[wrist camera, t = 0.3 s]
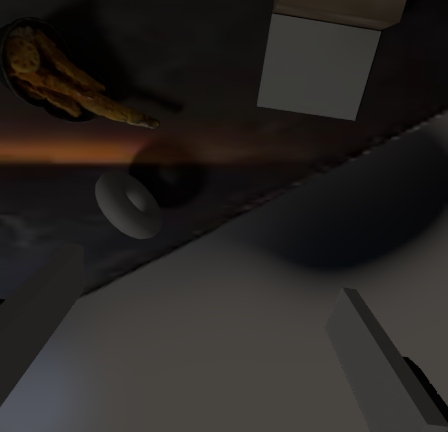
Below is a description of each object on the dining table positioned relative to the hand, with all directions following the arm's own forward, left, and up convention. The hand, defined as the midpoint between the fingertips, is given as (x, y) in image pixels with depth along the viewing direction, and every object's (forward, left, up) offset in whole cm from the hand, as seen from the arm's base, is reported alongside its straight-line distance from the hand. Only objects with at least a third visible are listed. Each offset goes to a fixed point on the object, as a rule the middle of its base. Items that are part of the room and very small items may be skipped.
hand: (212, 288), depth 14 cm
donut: (+5, -11, -28) cm, 30 cm away
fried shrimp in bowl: (-8, -18, -28) cm, 34 cm away
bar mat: (-14, +10, -28) cm, 32 cm away
